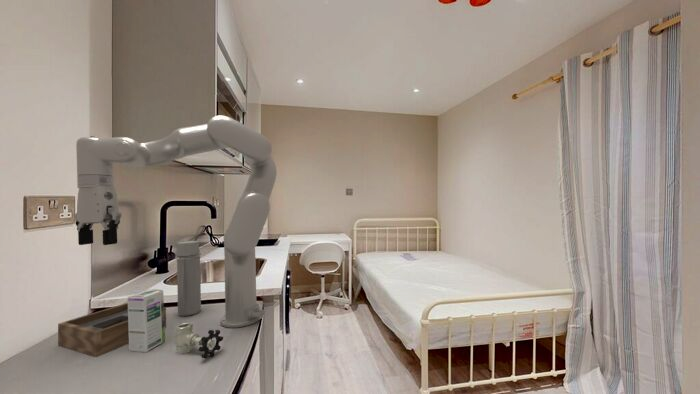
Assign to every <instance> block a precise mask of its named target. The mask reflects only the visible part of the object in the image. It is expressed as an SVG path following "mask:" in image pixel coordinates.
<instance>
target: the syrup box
mask: <svg viewBox="0 0 700 394" xmlns="http://www.w3.org/2000/svg"><path fill="white" fill-rule="evenodd" d="M127 303H128V330H129V343H128V350H129V351H130V352H137V353H148V352H149V351H151V350H152V349H154V348H155V347H157V346H159V345H162V344H163V343H165V339H166V335H165V333H166V332H165V328H164V308H165V304H164V303H165V302H164V290H163V289H146V290H144V291H140V292H138V293H135V294H132V295H129V296H127Z"/></svg>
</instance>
